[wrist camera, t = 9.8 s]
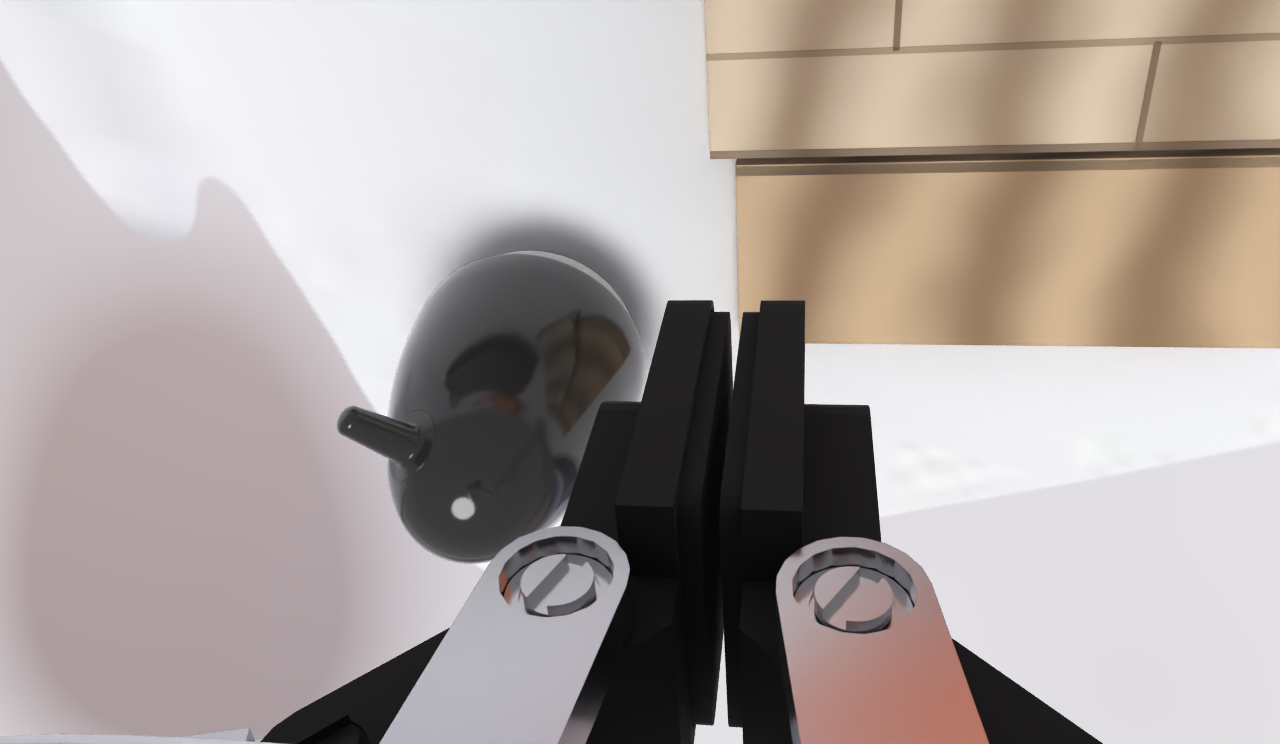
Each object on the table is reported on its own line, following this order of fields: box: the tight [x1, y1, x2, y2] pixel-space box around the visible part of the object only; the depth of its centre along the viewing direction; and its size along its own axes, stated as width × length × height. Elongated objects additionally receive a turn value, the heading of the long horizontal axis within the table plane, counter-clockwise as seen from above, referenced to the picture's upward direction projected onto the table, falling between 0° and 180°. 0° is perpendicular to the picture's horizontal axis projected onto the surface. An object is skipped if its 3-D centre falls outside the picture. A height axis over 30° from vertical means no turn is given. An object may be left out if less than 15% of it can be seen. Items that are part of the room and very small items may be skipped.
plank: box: [736, 148, 1280, 348], centre depth 41 cm, size 22×8×1 cm, turn 94°
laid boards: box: [704, 0, 1280, 159], centre depth 36 cm, size 24×8×1 cm, turn 94°
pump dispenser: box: [337, 251, 646, 564], centre depth 40 cm, size 10×10×15 cm
